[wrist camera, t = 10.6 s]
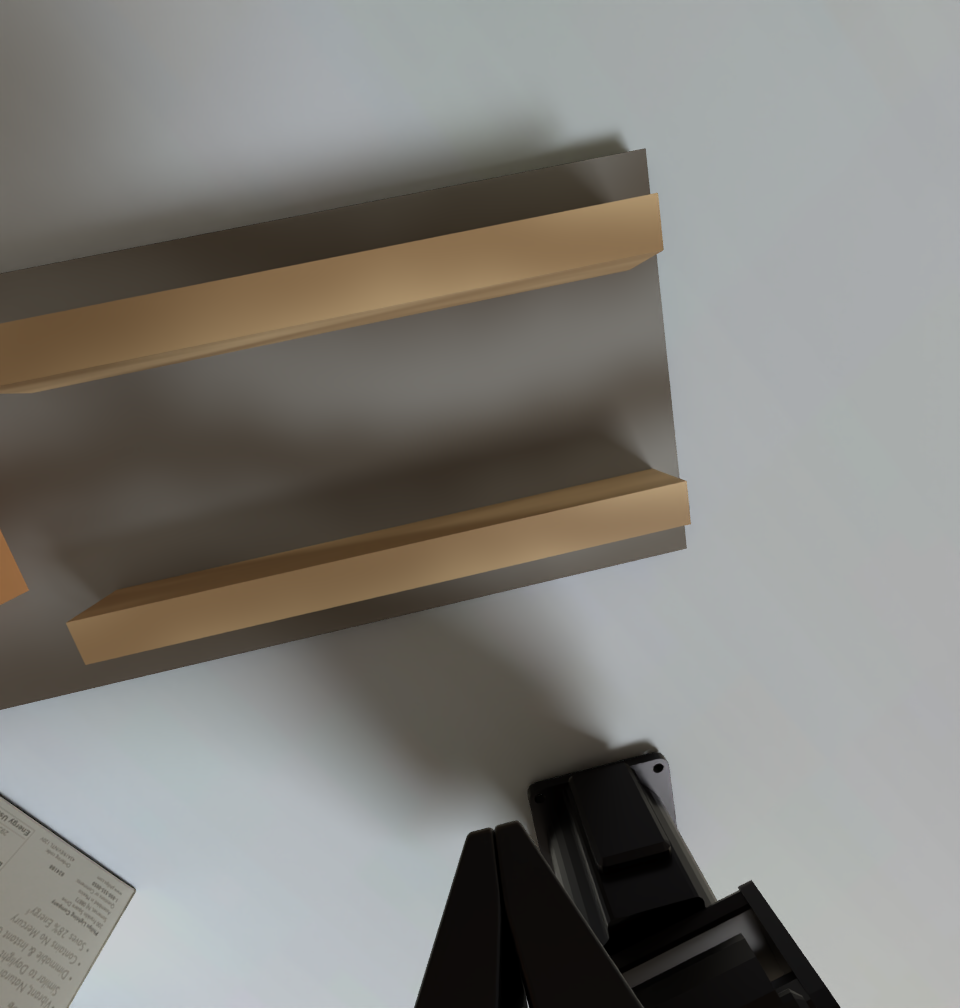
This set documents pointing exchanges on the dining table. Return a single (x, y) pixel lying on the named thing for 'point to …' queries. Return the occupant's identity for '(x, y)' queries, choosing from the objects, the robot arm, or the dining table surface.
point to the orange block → (9, 574)
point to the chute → (331, 422)
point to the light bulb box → (50, 913)
